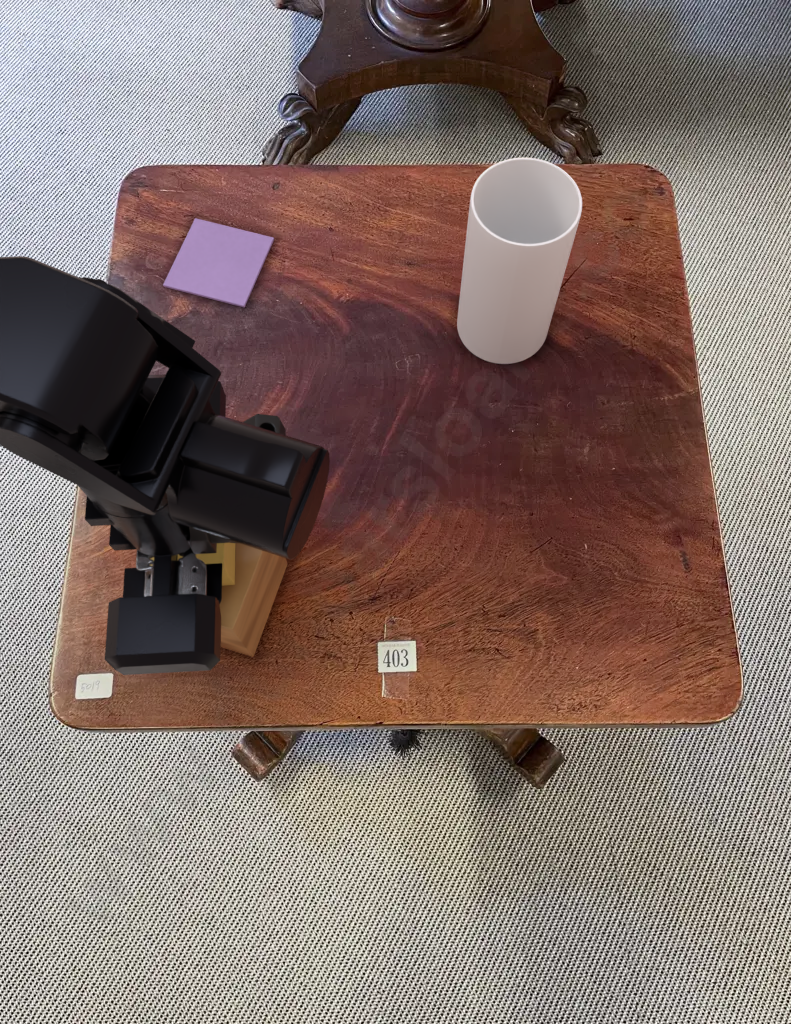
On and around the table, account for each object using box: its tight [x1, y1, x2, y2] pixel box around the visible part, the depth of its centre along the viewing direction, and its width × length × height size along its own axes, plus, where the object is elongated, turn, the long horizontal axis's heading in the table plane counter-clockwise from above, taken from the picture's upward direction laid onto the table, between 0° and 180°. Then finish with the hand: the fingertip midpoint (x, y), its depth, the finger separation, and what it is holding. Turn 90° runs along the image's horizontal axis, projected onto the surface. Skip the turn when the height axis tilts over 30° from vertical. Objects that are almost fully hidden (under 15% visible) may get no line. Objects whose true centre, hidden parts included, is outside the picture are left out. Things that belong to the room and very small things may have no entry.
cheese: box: [150, 543, 235, 586], centre depth 58 cm, size 5×4×4 cm
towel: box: [162, 217, 275, 308], centre depth 80 cm, size 8×8×1 cm
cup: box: [456, 157, 583, 365], centre depth 70 cm, size 8×8×16 cm
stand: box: [220, 543, 288, 658], centre depth 64 cm, size 8×8×9 cm
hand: (199, 559), depth 60 cm, fingers closed on cheese, 4 cm apart
